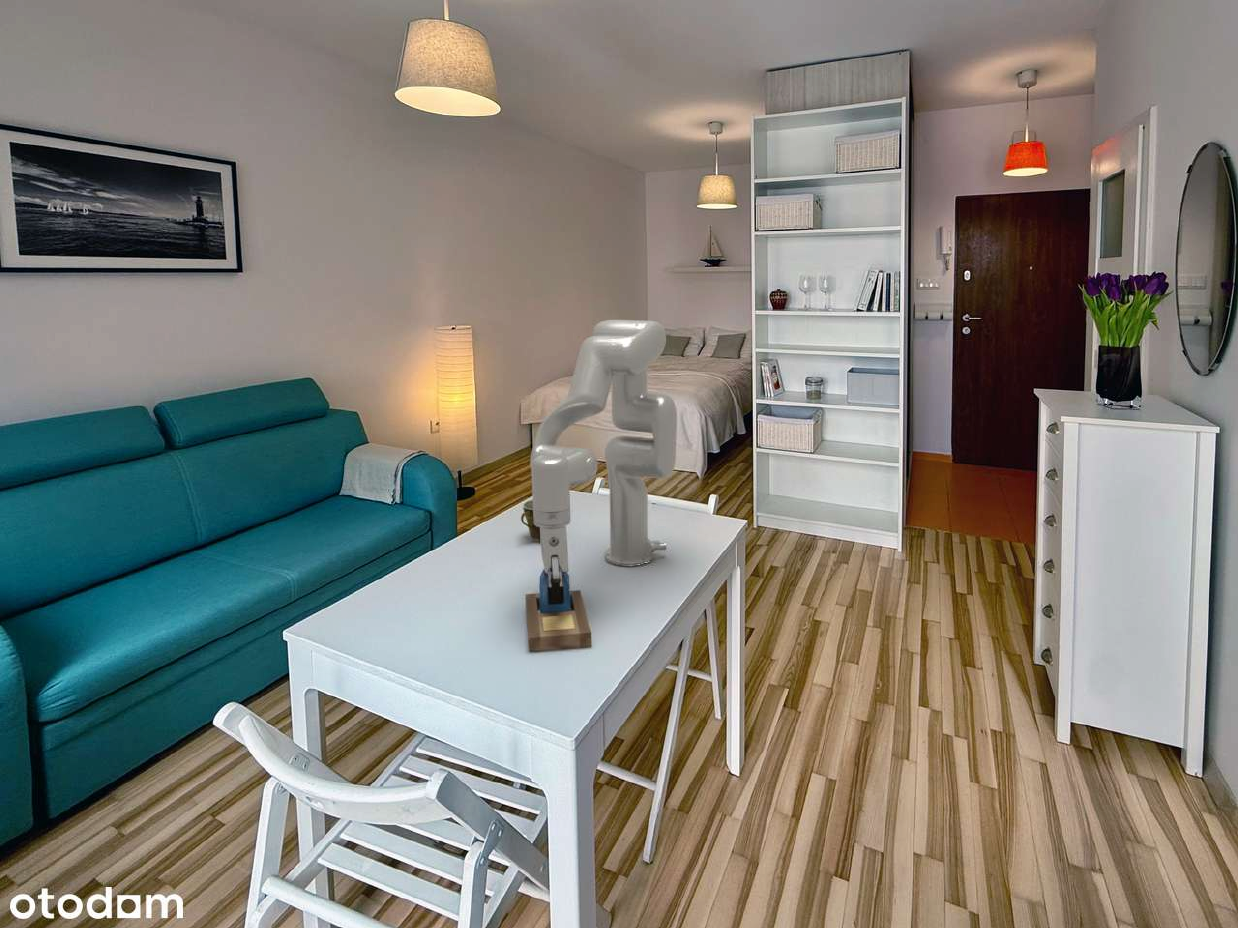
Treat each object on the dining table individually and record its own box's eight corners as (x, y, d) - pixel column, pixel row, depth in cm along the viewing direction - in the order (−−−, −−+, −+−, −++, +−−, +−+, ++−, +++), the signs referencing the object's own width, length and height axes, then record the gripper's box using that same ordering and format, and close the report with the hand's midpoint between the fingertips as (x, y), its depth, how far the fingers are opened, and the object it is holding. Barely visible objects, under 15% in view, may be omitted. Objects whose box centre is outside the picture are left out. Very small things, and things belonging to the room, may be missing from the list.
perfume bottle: (540, 603, 157) (538, 551, 154) (569, 602, 158) (568, 549, 155) (540, 616, 151) (538, 562, 148) (570, 614, 152) (568, 560, 149)
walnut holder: (580, 602, 161) (580, 589, 161) (591, 646, 142) (591, 631, 142) (525, 606, 160) (525, 593, 159) (529, 652, 141) (528, 637, 140)
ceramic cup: (541, 530, 208) (539, 496, 205) (568, 537, 202) (567, 502, 199) (509, 543, 197) (507, 508, 195) (537, 551, 192) (535, 515, 189)
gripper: (574, 528, 141) (576, 613, 146) (566, 501, 158) (568, 578, 163) (535, 530, 140) (538, 616, 145) (531, 503, 157) (534, 581, 161)
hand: (554, 595), depth 154 cm, fingers closed on perfume bottle, 6 cm apart
